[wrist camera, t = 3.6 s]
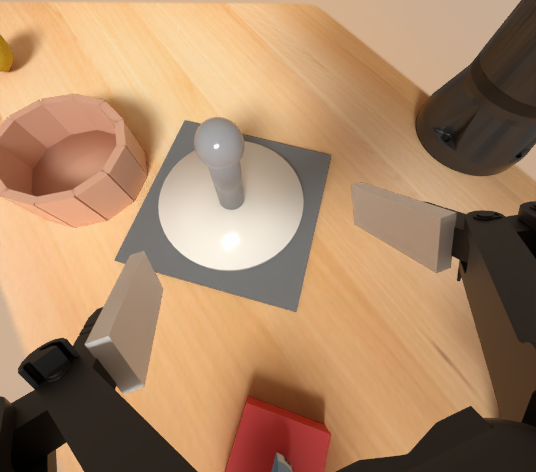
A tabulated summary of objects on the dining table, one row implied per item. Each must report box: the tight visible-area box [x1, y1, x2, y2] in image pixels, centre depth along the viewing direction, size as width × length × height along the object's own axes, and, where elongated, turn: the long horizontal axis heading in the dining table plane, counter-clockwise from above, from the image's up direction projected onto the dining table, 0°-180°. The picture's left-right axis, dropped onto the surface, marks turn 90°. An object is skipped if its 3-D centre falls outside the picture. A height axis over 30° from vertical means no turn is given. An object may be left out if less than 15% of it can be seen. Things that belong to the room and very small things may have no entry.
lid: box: [158, 117, 304, 271], centre depth 27 cm, size 18×18×13 cm
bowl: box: [0, 94, 148, 228], centre depth 32 cm, size 15×15×6 cm
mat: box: [115, 121, 331, 312], centre depth 33 cm, size 22×22×1 cm
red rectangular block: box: [225, 396, 331, 472], centre depth 22 cm, size 8×7×6 cm
